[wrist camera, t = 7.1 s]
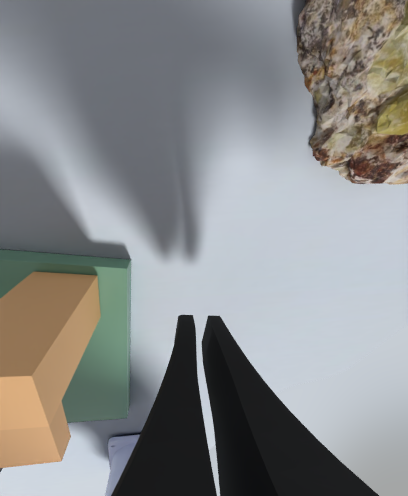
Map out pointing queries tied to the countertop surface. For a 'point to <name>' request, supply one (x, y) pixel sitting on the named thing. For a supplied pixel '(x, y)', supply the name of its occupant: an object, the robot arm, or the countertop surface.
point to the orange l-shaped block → (41, 361)
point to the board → (103, 338)
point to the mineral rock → (358, 86)
